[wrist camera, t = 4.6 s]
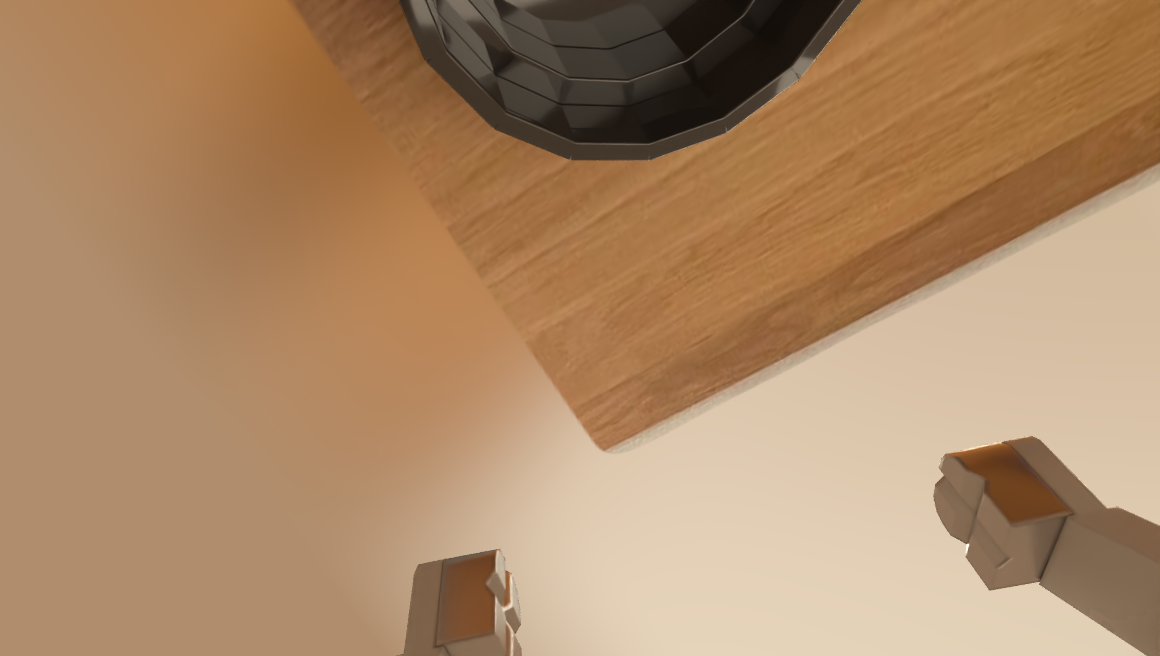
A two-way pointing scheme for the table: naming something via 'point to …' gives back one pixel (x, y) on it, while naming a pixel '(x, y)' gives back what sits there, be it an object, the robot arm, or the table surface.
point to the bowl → (621, 66)
